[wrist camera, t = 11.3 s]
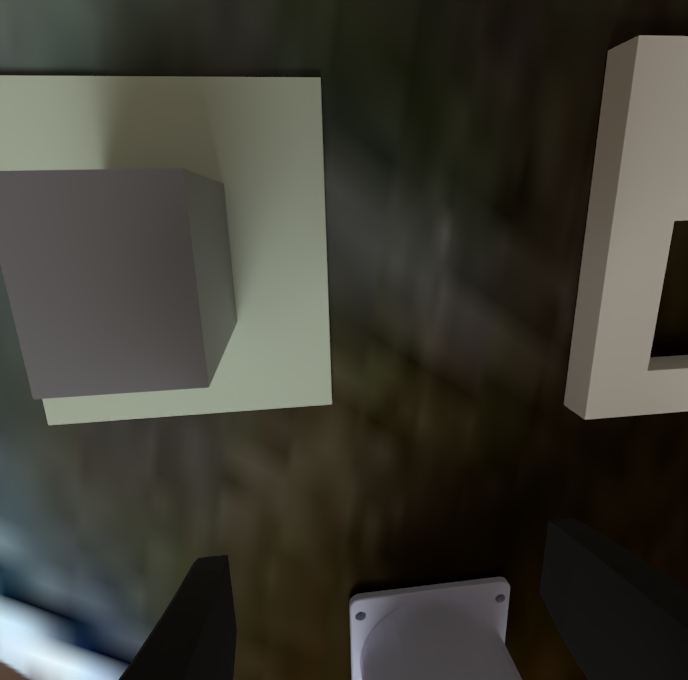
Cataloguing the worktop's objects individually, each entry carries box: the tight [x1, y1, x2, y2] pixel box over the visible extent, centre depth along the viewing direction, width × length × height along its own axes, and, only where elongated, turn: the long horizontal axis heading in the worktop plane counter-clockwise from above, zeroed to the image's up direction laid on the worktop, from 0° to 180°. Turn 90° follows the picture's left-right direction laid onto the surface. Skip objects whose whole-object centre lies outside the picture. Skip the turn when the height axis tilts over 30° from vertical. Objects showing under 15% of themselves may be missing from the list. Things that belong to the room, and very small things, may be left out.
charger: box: [0, 168, 237, 399], centre depth 13 cm, size 5×4×6 cm
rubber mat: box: [0, 75, 332, 425], centre depth 16 cm, size 12×11×1 cm
